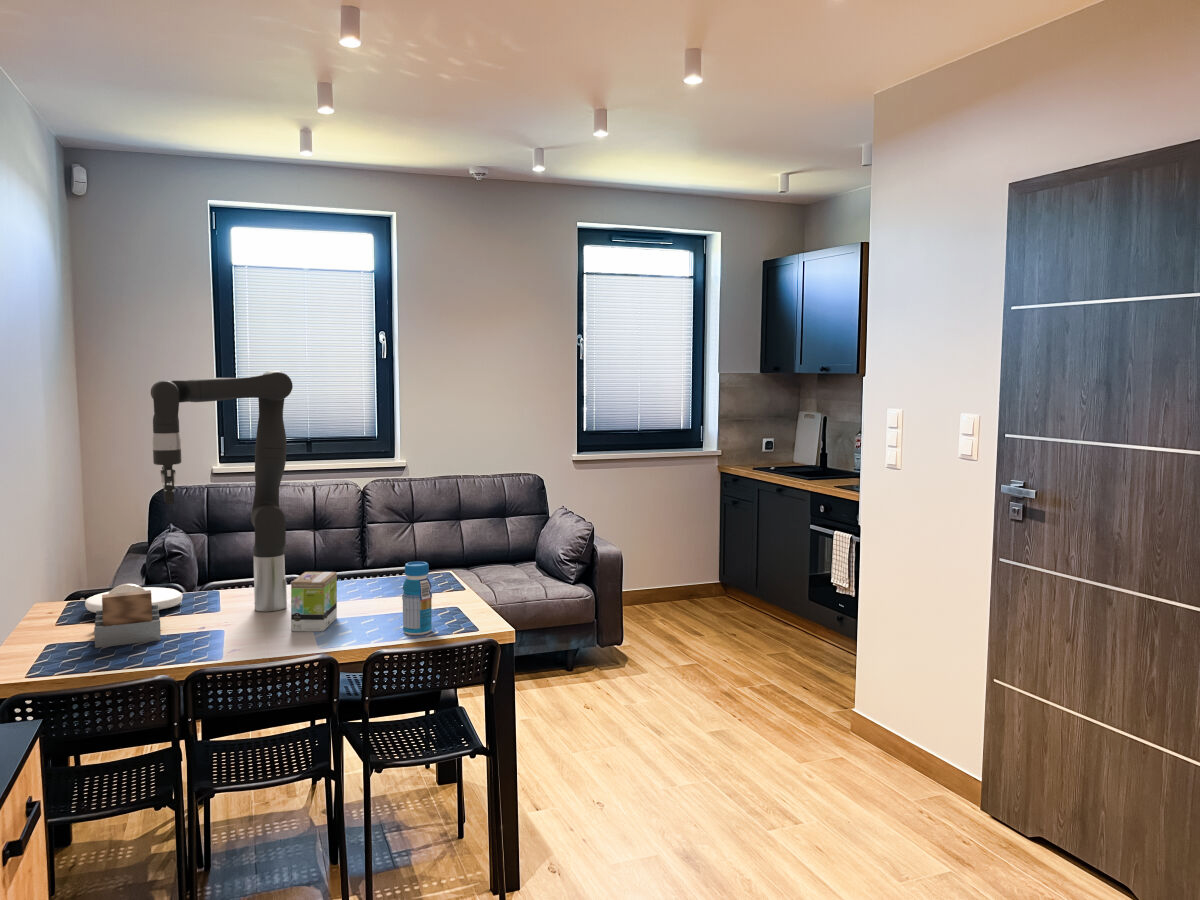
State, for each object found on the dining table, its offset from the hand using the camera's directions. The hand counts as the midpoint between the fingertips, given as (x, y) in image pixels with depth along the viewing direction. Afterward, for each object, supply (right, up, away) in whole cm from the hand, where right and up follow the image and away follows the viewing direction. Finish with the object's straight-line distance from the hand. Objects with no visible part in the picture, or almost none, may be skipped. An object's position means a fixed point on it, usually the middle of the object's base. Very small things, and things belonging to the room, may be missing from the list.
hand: (169, 502), depth 267 cm
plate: (-18, -35, +16) cm, 43 cm away
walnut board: (-3, -36, -18) cm, 41 cm away
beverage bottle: (+76, -37, -8) cm, 85 cm away
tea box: (+44, -37, -1) cm, 57 cm away
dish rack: (-6, -37, -12) cm, 39 cm away
